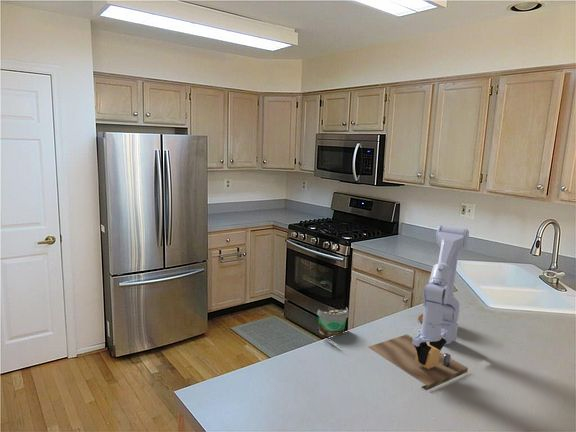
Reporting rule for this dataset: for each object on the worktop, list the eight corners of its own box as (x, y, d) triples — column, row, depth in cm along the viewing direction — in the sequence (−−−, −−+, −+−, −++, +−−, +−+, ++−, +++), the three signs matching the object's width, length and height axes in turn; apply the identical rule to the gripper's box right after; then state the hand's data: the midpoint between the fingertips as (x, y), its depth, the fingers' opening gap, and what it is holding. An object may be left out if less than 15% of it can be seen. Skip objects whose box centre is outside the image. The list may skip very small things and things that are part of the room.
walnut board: (406, 338, 146) (406, 334, 145) (467, 372, 125) (467, 367, 125) (367, 350, 135) (367, 346, 135) (426, 390, 114) (427, 385, 114)
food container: (321, 342, 139) (322, 316, 138) (315, 334, 145) (317, 309, 144) (352, 339, 143) (354, 313, 141) (345, 331, 149) (347, 306, 147)
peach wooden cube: (425, 357, 127) (427, 343, 126) (438, 364, 123) (440, 350, 122) (415, 361, 124) (416, 346, 123) (428, 369, 120) (429, 354, 119)
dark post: (444, 366, 127) (446, 352, 126) (450, 369, 126) (451, 355, 125) (440, 368, 126) (442, 354, 125) (446, 371, 125) (448, 357, 124)
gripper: (436, 311, 128) (431, 349, 130) (406, 320, 120) (402, 360, 123) (455, 320, 122) (450, 359, 124) (425, 330, 114) (420, 372, 117)
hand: (427, 361), depth 123 cm, fingers closed on peach wooden cube, 5 cm apart
